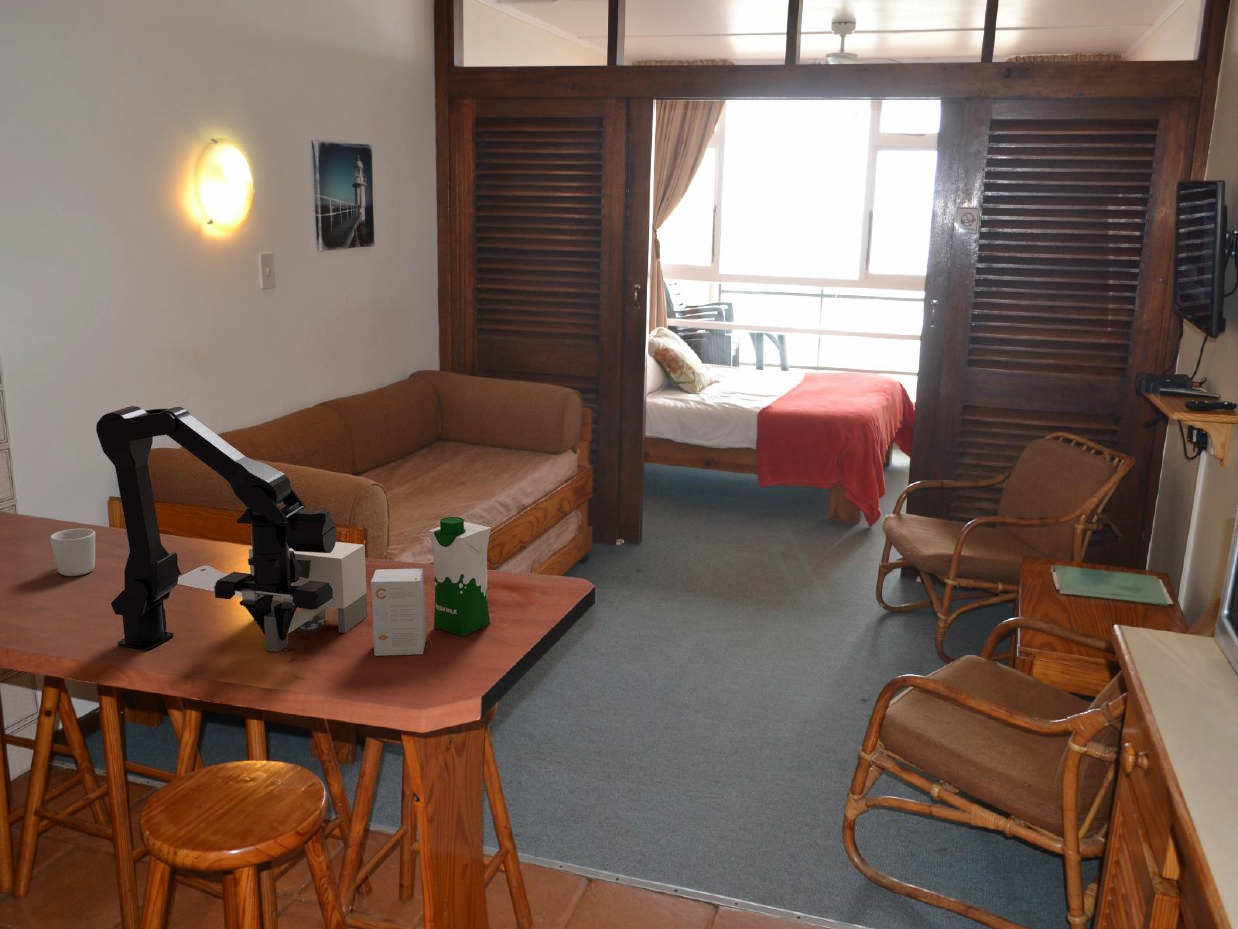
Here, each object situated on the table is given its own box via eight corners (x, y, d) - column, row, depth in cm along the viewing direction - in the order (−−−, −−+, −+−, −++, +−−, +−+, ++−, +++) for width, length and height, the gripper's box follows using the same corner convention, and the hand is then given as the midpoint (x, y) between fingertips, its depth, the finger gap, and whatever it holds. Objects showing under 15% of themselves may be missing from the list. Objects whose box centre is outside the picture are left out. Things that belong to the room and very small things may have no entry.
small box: (426, 640, 181) (424, 567, 178) (423, 655, 175) (421, 580, 172) (378, 641, 180) (375, 568, 177) (373, 656, 174) (370, 581, 171)
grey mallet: (278, 652, 174) (276, 617, 173) (265, 650, 175) (262, 616, 173) (328, 617, 189) (326, 585, 188) (315, 616, 190) (313, 584, 188)
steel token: (315, 635, 183) (314, 627, 183) (292, 632, 184) (291, 624, 184) (328, 625, 187) (328, 617, 187) (306, 622, 188) (305, 614, 188)
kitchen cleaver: (162, 581, 205) (202, 561, 214) (163, 589, 206) (203, 569, 214) (285, 610, 192) (322, 587, 200) (286, 619, 193) (323, 595, 201)
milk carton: (426, 628, 186) (423, 519, 181) (460, 612, 193) (458, 507, 189) (464, 639, 181) (462, 527, 177) (498, 623, 189) (496, 515, 184)
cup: (56, 564, 216) (51, 526, 214) (99, 559, 219) (95, 522, 217) (53, 581, 206) (48, 542, 204) (98, 576, 209) (94, 537, 208)
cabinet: (345, 633, 183) (341, 558, 180) (253, 621, 188) (248, 548, 185) (367, 616, 191) (364, 544, 188) (279, 605, 195) (274, 535, 192)
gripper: (347, 540, 177) (351, 627, 181) (249, 529, 182) (255, 615, 185) (312, 560, 167) (317, 653, 170) (208, 549, 171) (215, 639, 175)
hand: (276, 639), depth 176 cm, fingers closed on grey mallet, 2 cm apart
